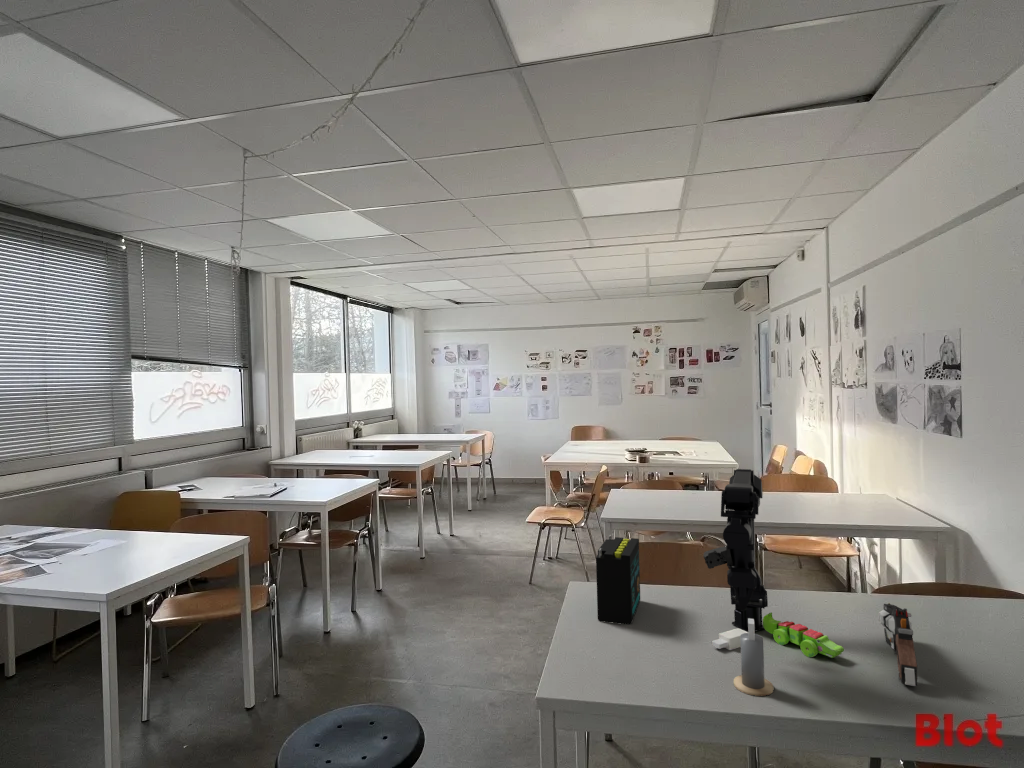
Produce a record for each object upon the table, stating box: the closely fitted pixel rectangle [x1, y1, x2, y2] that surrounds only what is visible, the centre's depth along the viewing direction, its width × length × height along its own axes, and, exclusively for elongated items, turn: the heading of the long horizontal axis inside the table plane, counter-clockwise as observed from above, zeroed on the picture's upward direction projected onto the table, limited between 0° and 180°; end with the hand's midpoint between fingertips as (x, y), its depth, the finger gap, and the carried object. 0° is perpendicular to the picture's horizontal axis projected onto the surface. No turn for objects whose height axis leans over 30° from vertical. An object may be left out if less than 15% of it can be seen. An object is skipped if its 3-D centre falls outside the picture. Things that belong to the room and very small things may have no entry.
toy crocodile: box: [762, 612, 845, 659], centre depth 144 cm, size 20×7×6 cm, turn 28°
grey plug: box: [740, 618, 765, 689], centre depth 126 cm, size 5×5×14 cm
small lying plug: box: [711, 627, 748, 651], centre depth 146 cm, size 10×4×3 cm, turn 117°
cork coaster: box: [733, 674, 775, 697], centre depth 125 cm, size 8×8×1 cm
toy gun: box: [877, 602, 918, 687], centre depth 135 cm, size 5×28×15 cm, turn 154°
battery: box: [595, 534, 641, 625], centre depth 171 cm, size 19×10×20 cm, turn 160°
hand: (742, 603), depth 139 cm, fingers open, 9 cm apart
